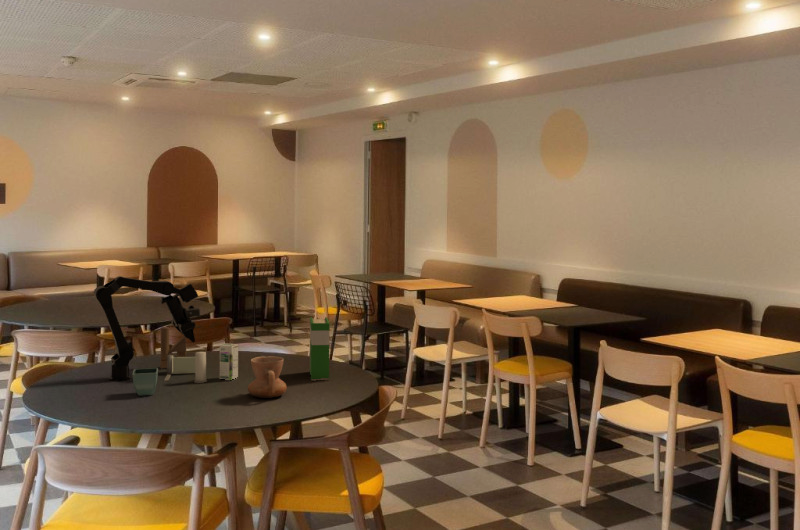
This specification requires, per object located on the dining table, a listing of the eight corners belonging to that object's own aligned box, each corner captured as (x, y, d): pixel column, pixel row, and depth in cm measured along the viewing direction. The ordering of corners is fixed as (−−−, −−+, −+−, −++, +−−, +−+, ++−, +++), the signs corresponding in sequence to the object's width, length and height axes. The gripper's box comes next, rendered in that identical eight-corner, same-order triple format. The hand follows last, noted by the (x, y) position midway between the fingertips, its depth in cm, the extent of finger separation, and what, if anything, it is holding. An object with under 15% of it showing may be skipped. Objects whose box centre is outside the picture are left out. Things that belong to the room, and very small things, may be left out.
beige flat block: (172, 373, 317) (172, 357, 317) (173, 372, 320) (173, 356, 319) (199, 372, 319) (199, 357, 319) (200, 371, 322) (200, 356, 321)
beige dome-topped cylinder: (201, 383, 301) (201, 354, 300) (191, 382, 303) (191, 353, 302) (209, 381, 306) (209, 352, 305) (199, 380, 308) (199, 351, 307)
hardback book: (309, 371, 326) (310, 317, 325) (326, 371, 328) (327, 317, 326) (311, 381, 309) (311, 323, 307) (329, 380, 310) (329, 323, 308)
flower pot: (132, 397, 278) (132, 373, 277) (134, 392, 286) (133, 368, 286) (157, 396, 280) (157, 372, 279) (158, 390, 289) (158, 367, 288)
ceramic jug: (245, 391, 289) (245, 355, 288) (283, 389, 293) (283, 353, 292) (250, 403, 272) (250, 364, 271) (290, 401, 276) (290, 363, 275)
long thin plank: (168, 371, 323) (168, 353, 322) (173, 371, 323) (173, 353, 322) (163, 381, 305) (163, 361, 304) (168, 380, 305) (168, 361, 305)
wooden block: (186, 367, 331) (185, 327, 330) (160, 369, 327) (160, 328, 326) (185, 365, 335) (185, 326, 333) (160, 367, 331) (159, 327, 330)
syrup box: (219, 379, 309) (219, 345, 308) (226, 376, 314) (226, 342, 313) (231, 380, 307) (231, 346, 306) (238, 377, 313) (238, 343, 311)
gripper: (198, 302, 311) (214, 335, 316) (188, 297, 328) (203, 328, 332) (174, 314, 307) (190, 347, 311) (164, 308, 323) (179, 340, 327)
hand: (191, 340), depth 321 cm, fingers open, 9 cm apart
